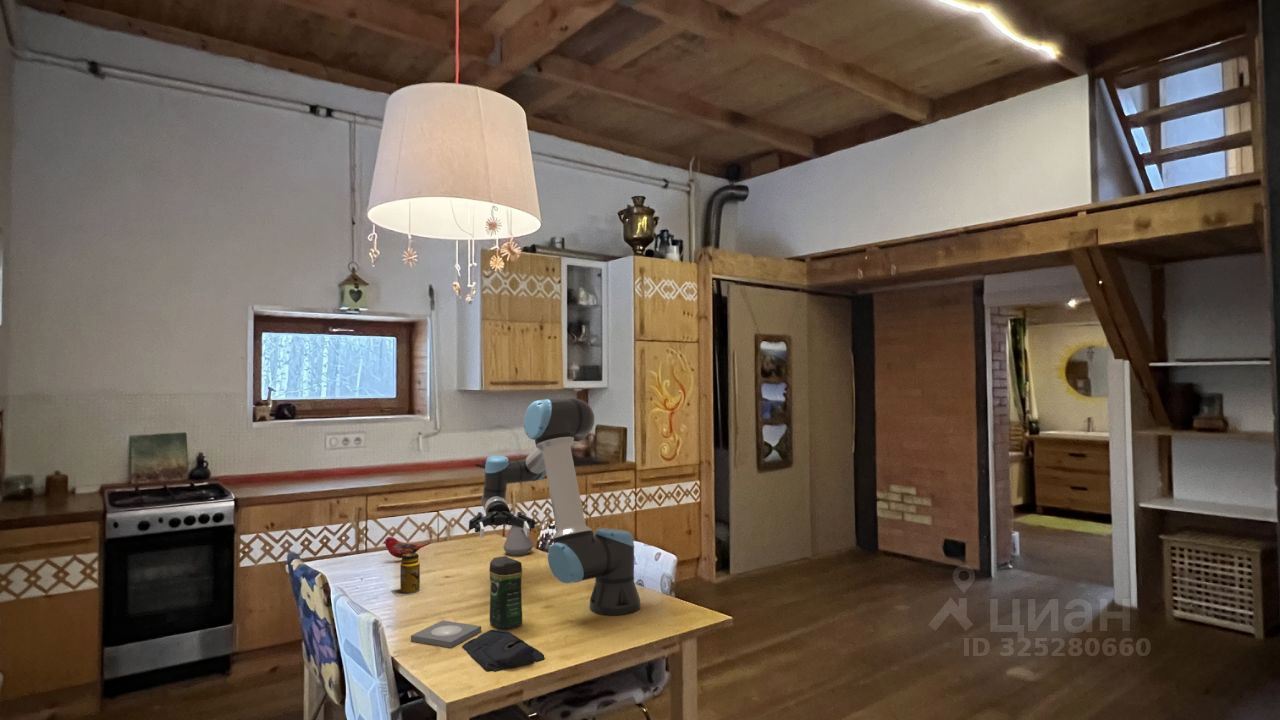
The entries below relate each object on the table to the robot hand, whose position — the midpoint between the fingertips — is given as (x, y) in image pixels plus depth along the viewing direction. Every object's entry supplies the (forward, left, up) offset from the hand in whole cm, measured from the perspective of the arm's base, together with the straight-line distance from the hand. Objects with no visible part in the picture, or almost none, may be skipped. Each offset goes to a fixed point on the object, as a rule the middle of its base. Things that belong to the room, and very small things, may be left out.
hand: (505, 533), depth 219 cm
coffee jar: (-7, +11, -23) cm, 27 cm away
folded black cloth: (-19, +30, -24) cm, 42 cm away
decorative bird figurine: (+68, -35, -23) cm, 79 cm away
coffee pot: (+31, -59, -23) cm, 70 cm away
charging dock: (+2, +25, -23) cm, 34 cm away
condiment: (+41, -4, -23) cm, 47 cm away
